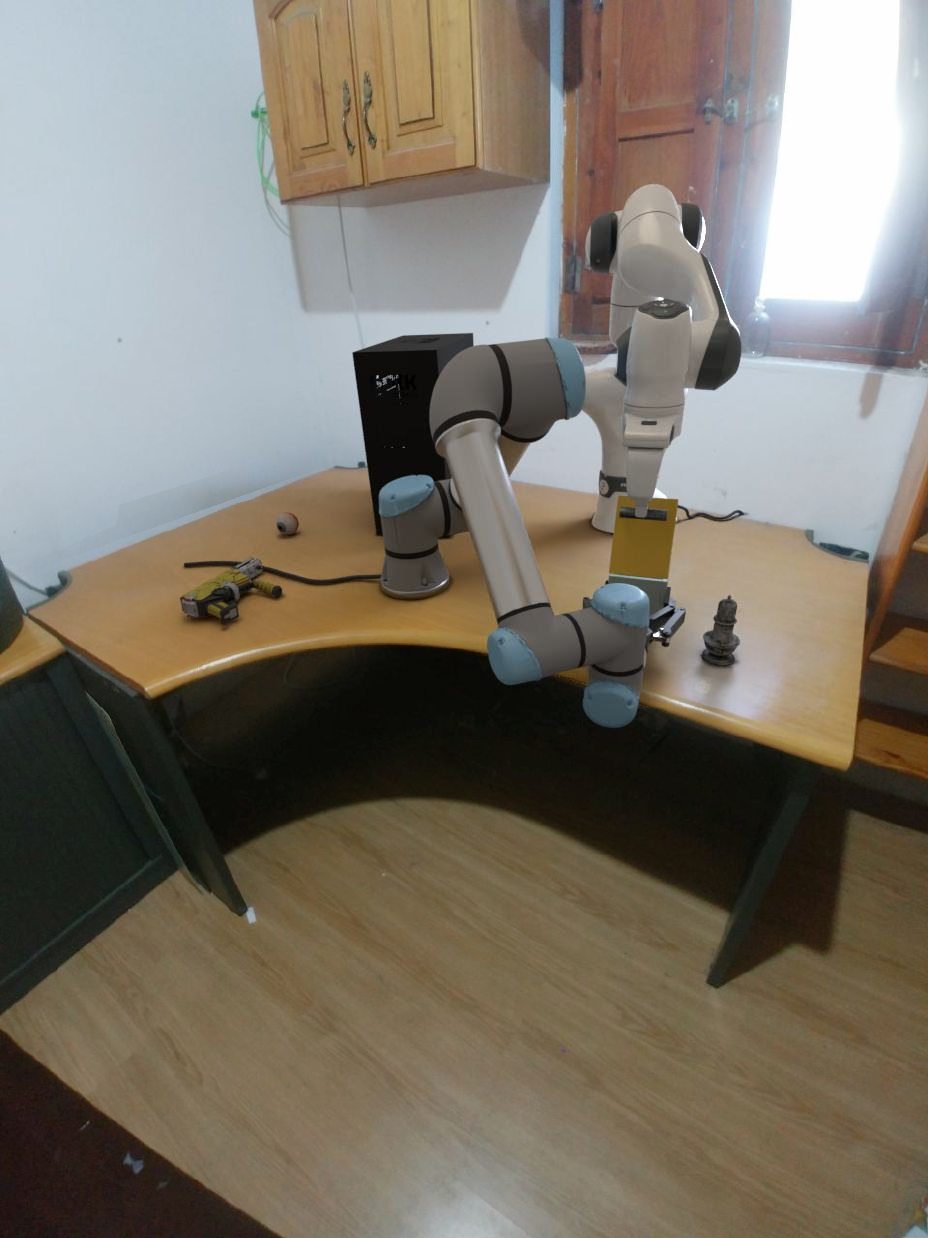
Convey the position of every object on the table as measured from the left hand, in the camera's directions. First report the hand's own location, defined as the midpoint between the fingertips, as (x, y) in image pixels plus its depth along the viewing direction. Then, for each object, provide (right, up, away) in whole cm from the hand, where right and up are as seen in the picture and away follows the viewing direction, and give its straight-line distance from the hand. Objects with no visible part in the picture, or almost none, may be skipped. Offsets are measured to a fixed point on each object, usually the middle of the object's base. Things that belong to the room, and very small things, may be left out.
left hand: (637, 590), depth 113 cm
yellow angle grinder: (-81, -1, +20) cm, 83 cm away
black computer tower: (-42, +26, +62) cm, 79 cm away
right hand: (-3, +13, -15) cm, 20 cm away
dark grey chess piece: (+11, -12, -9) cm, 19 cm away
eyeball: (-80, +18, +52) cm, 97 cm away
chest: (+2, -4, +7) cm, 8 cm away
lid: (0, +9, -5) cm, 10 cm away
